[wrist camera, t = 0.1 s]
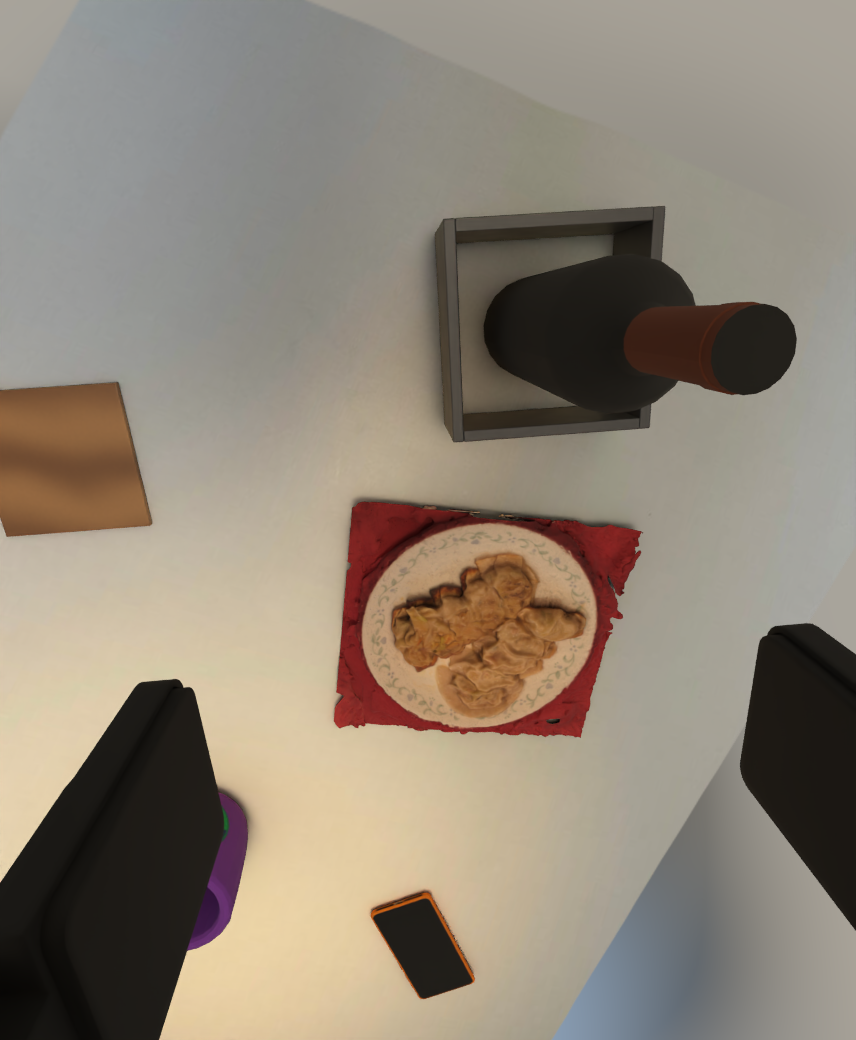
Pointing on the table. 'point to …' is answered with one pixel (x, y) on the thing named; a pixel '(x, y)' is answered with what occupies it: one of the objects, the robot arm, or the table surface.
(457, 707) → the plate with food
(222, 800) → the mug
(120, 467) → the cork mat
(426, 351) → the table surface
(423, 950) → the smartphone
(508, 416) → the grey square tray frame
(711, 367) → the wine bottle
